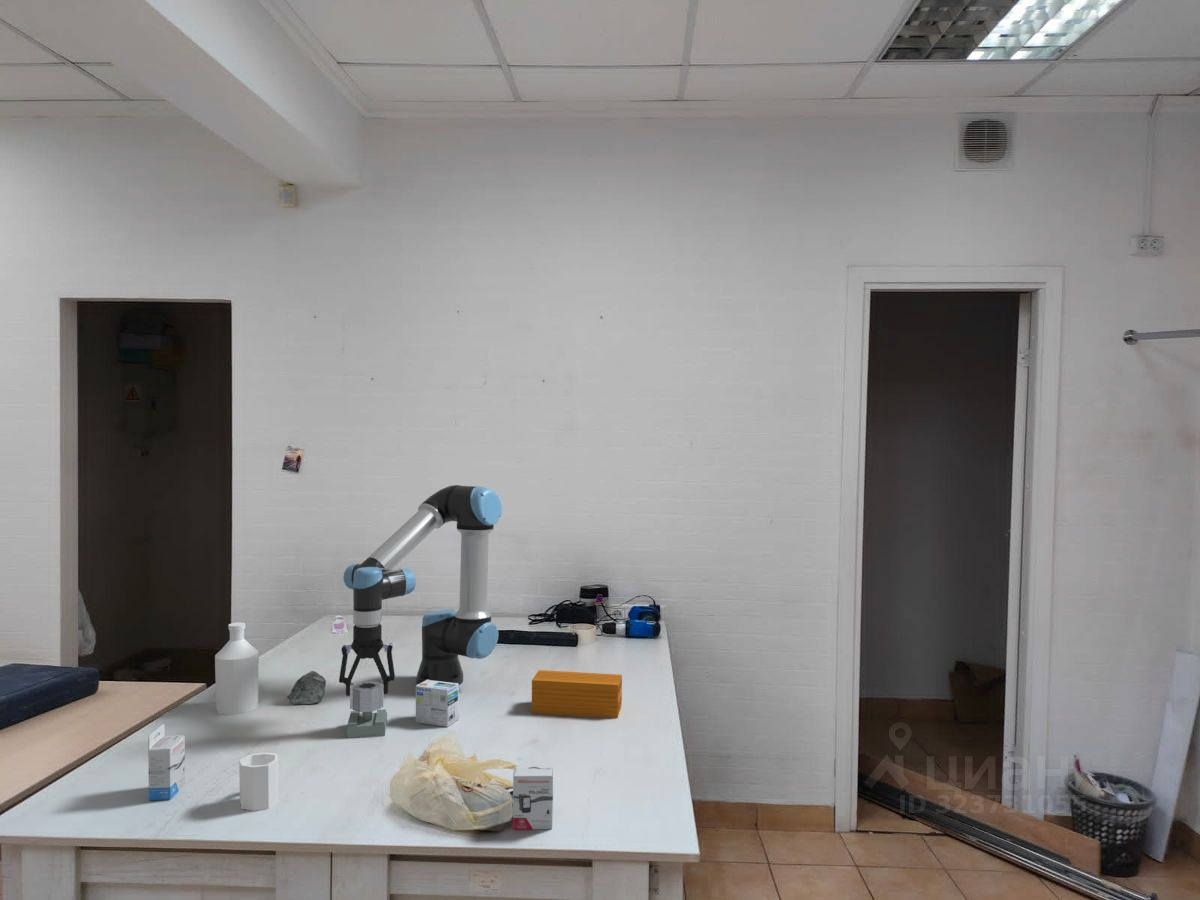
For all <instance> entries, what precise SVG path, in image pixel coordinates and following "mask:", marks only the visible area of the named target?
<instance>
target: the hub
mask: <svg viewBox="0 0 1200 900" xmlns="http://www.w3.org/2000/svg"><path fill="white" fill-rule="evenodd" d="M377 710H382V707H381V682H377V681H362V682H361V681H360V682H357V683H354V686H353V709H352V711H358V712H360V713H363V712H372V713H373V712H375V711H377Z"/></svg>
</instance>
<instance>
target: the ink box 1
mask: <svg viewBox="0 0 1200 900" xmlns="http://www.w3.org/2000/svg"><path fill="white" fill-rule="evenodd" d="M165 731H166V730H165V723H163V724H161V725H160V726H159V727H158V728H156V729H155V730H153V732H151V733H150V734H149V735H148V738H147V739H148V740H147V741H148V750H147V751H148V754H147V755H148V760H147V761H148V764H147V765H148V801H168V800H172V799H173V798H174V796H175V795H177V793H178V792H179V791H180V790H181V788H183V787H184V786H185V784H186V757H185V755H186V743H185V742H186V741H185V740H186V737H185V735H183V734H182V735H181V734H177V735H165Z"/></svg>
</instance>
